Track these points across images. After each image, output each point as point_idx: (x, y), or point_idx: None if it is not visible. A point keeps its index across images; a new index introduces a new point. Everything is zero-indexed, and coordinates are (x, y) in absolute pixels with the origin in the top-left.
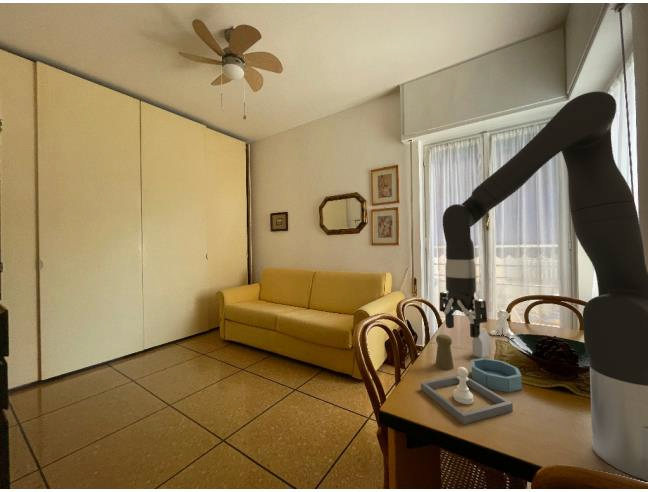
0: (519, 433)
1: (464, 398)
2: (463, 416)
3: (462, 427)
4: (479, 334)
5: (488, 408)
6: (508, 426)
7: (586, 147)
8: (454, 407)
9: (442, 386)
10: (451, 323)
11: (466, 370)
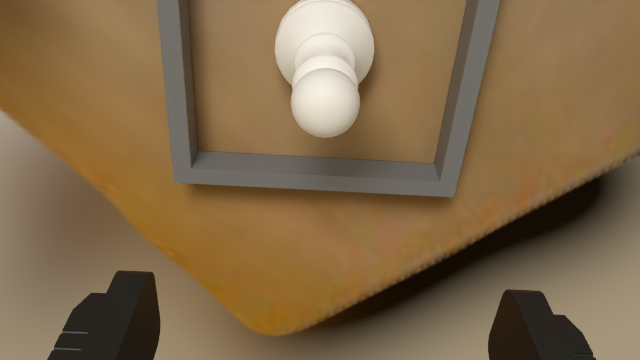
0: (601, 28)
1: (359, 81)
2: (451, 195)
3: None
4: (577, 332)
5: (480, 61)
6: (554, 28)
7: None
8: (397, 187)
9: (190, 49)
10: (141, 339)
11: (351, 104)
